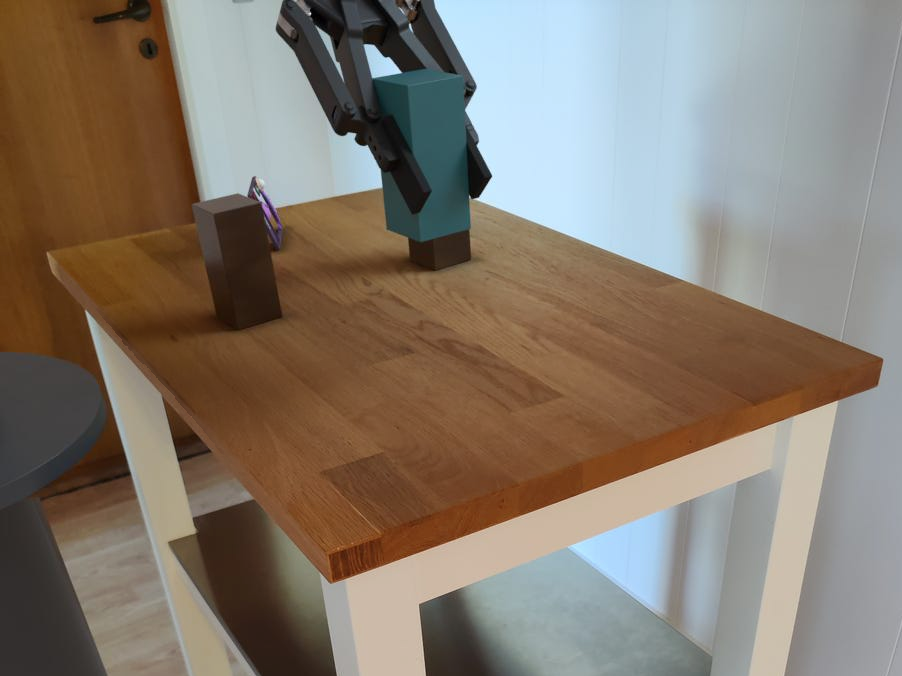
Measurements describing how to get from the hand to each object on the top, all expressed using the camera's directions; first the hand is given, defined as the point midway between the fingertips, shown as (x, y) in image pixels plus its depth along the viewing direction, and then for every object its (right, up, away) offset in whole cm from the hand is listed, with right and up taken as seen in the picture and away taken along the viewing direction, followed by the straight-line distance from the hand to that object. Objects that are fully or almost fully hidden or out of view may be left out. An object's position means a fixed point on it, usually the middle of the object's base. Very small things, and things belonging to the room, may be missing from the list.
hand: (452, 194), depth 77 cm
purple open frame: (-25, +14, +45) cm, 53 cm away
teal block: (-2, -1, +4) cm, 5 cm away
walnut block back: (-2, +8, +35) cm, 36 cm away
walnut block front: (-21, -2, +24) cm, 32 cm away
